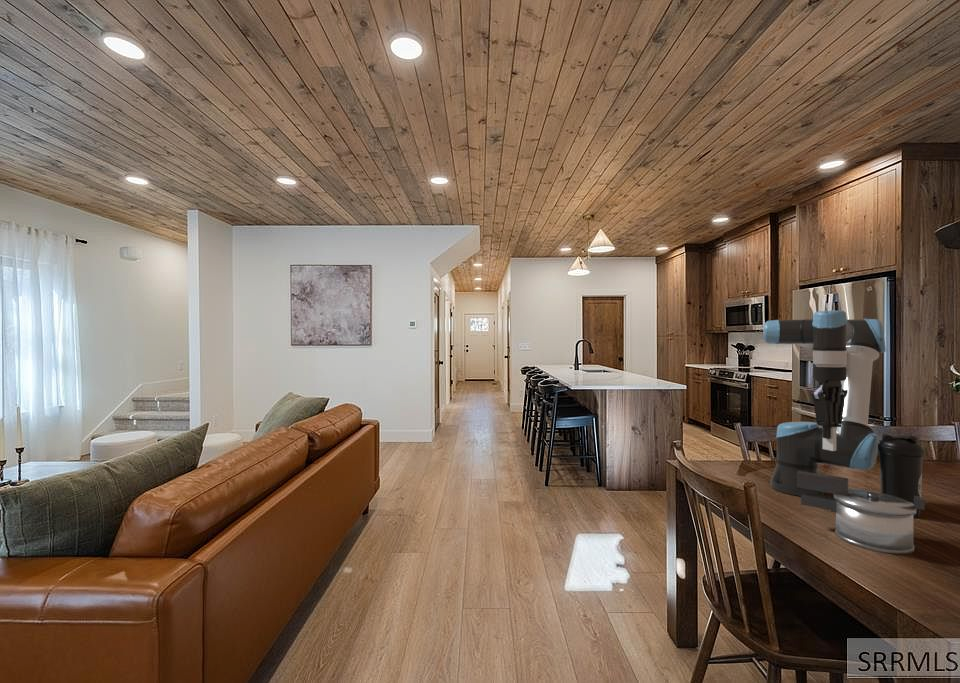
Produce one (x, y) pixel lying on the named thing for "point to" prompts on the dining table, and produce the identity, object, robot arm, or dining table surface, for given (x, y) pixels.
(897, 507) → the lid
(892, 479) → the water bottle
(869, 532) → the pot
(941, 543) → the dining table surface
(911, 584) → the dining table surface
